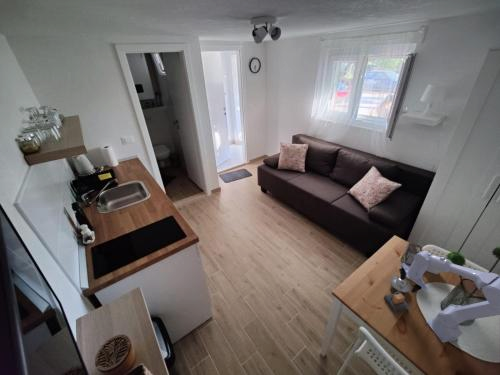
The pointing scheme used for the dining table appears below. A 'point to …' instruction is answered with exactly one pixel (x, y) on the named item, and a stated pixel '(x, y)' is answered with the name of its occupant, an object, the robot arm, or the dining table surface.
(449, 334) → the robot arm
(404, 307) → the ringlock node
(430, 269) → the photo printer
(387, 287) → the dining table surface
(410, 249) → the coffee box
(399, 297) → the wedge
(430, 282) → the dining table surface
